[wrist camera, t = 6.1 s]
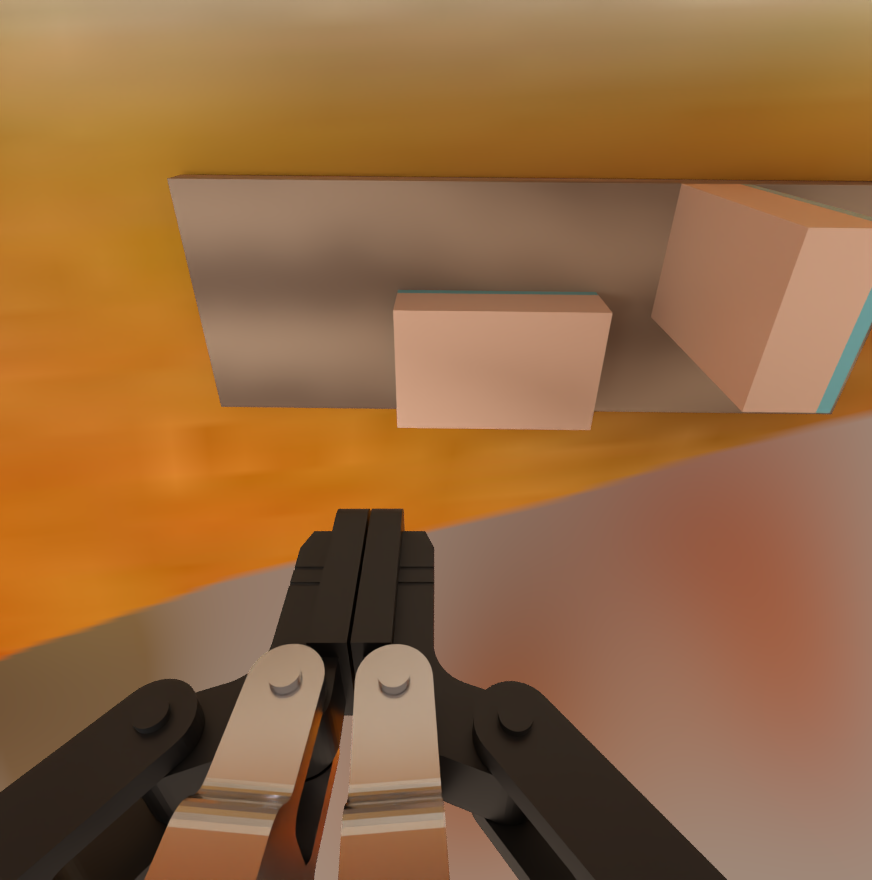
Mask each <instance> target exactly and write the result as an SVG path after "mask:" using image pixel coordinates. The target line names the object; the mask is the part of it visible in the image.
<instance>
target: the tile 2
mask: <svg viewBox="0 0 872 880" xmlns="http://www.w3.org/2000/svg"><path fill="white" fill-rule="evenodd" d="M651 317H652V318H653V320H654V321H655V322H656V323H657V324H658V325H659V326H660V327H661V328H662V329H663V330H664V331H665V332H666V333H667V334H668V335H669V336H670V337H671V338H672V339H673V340H674V341H675V342H676V343H677V345H678V346H679V347H680V348H681V349H682V350H683V351H684V352H685V353H686V354H687V355H688V356H689V357H690V358H691V359H692V360H693V361H694V362H695V363H696V364H697V365H698V366H699V367H700V369H701V370H702V371H703V372H704V373H705V374H706V375H707V376H708V377H709V378H710V379H711V380H712V381H713V382H714V383H715V384H716V385H717V386H718V387H719V388H720V389H721V390H722V391H723V393H724V394H725V395H726V396H727V397H728V398H729V399H730V400H731V401H732V402H733V403H734V404H735V405H736V406H737V407H738V408H739V409H740V410H741V411H742V412H787V413H830V411H831V409H832V407H833V405H834V403H835V400H836V398H837V396H838V394H839V392H840V390H841V387H842V385H843V383H844V381H845V379H846V377H847V374H848V372H849V370H850V368H851V366H852V364H853V362H854V359H855V357H856V355H857V353H858V351H859V349H860V346H861V344H862V342H863V340H864V338H865V336H866V333H867V331H868V329H869V327H870V325H871V323H872V217H870V216H866V215H862V214H859V213H855V212H851V211H848V210H844V209H840V208H836V207H833V206H829V205H825V204H822V203H818V202H814V201H811V200H807V199H803V198H800V197H796V196H792V195H789V194H785V193H781V192H778V191H774V190H770V189H767V188H763V187H759V186H755V185H752V184H681V188H680V193H679V197H678V201H677V206H676V210H675V214H674V219H673V223H672V227H671V232H670V236H669V240H668V245H667V249H666V253H665V258H664V262H663V266H662V271H661V275H660V279H659V284H658V288H657V292H656V297H655V301H654V305H653V310H652V314H651Z"/></svg>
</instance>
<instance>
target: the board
mask: <svg viewBox="0 0 872 880" xmlns="http://www.w3.org/2000/svg"><path fill="white" fill-rule="evenodd" d="M167 180H168V184H169V188H170V192H171V197H172V201H173V205H174V209H175V213H176V218H177V222H178V226H179V230H180V234H181V239H182V243H183V247H184V251H185V256H186V260H187V264H188V268H189V272H190V277H191V281H192V285H193V289H194V293H195V298H196V302H197V306H198V310H199V314H200V319H201V323H202V327H203V331H204V335H205V340H206V344H207V348H208V352H209V357H210V361H211V365H212V369H213V373H214V378H215V382H216V386H217V390H218V394H219V399H220V403H221V407H294V408H374V409H397V403H396V376H395V348H394V321H393V309H394V305H395V300H396V296H397V292H398V290H451V291H541V292H596V293H597V294H598V295H599V296H600V298H601V299H602V300H603V301H604V303H605V304H606V305H607V306H608V308H609V309H610V310H611V311H612V319H611V324H610V329H609V334H608V340H607V345H606V350H605V355H604V361H603V366H602V371H601V376H600V382H599V387H598V392H597V397H596V403H595V408H594V411H615V412H695V413H775V414H832V412H833V410H834V408H835V406H836V404H837V401H838V399H839V397H840V395H841V393H842V391H843V389H844V386H845V384H846V382H847V380H848V378H849V376H850V373H851V371H852V369H853V367H854V365H855V363H856V361H857V358H858V356H859V354H860V352H861V350H862V348H863V346H864V343H865V341H866V339H867V337H868V335H869V333H870V331H871V328H872V323H871V325H870V327H869V329H868V331H867V333H866V336H865V338H864V340H863V342H862V344H861V346H860V349H859V351H858V353H857V355H856V357H855V359H854V362H853V364H852V366H851V368H850V370H849V372H848V374H847V377H846V379H845V381H844V383H843V385H842V387H841V390H840V392H839V394H838V396H837V398H836V400H835V403H834V405H833V407H832V409H831V411H830V413H787V412H742V411H741V410H740V409H739V408H738V407H737V406H736V405H735V404H734V403H733V402H732V401H731V400H730V399H729V398H728V397H727V396H726V395H725V394H724V393H723V391H722V390H721V389H720V388H719V387H718V386H717V385H716V384H715V383H714V382H713V381H712V380H711V379H710V378H709V377H708V376H707V375H706V374H705V373H704V372H703V371H702V370H701V369H700V367H699V366H698V365H697V364H696V363H695V362H694V361H693V360H692V359H691V358H690V357H689V356H688V355H687V354H686V353H685V352H684V351H683V350H682V349H681V348H680V347H679V346H678V345H677V343H676V342H675V341H674V340H673V339H672V338H671V337H670V336H669V335H668V334H667V333H666V332H665V331H664V330H663V329H662V328H661V327H660V326H659V325H658V324H657V323H656V322H655V321H654V320H653V318H652V317H651V314H652V310H653V305H654V301H655V297H656V292H657V288H658V284H659V279H660V275H661V271H662V266H663V262H664V258H665V253H666V249H667V245H668V240H669V236H670V232H671V227H672V223H673V219H674V214H675V210H676V206H677V201H678V197H679V193H680V188H681V184H752V185H755V186H759V187H763V188H767V189H770V190H774V191H778V192H781V193H785V194H789V195H792V196H796V197H800V198H803V199H807V200H811V201H814V202H818V203H822V204H825V205H829V206H833V207H836V208H840V209H844V210H848V211H851V212H855V213H859V214H862V215H866V216H870V217H872V181H781V180H677V179H573V178H469V177H365V176H261V175H178V176H175V177H171V178H167Z"/></svg>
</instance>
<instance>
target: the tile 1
mask: <svg viewBox="0 0 872 880" xmlns="http://www.w3.org/2000/svg"><path fill="white" fill-rule="evenodd" d="M611 319H612V311H611V310H610V309H609V308H608V306H607V305H606V304H605V303H604V301H603V300H602V299H601V298H600V296H599V295H598V294H597V293H596V292H541V291H451V290H398V292H397V296H396V300H395V305H394V309H393V321H394V348H395V376H396V403H397V428H467V429H546V430H590V429H591V424H592V418H593V413H594V408H595V403H596V397H597V392H598V387H599V382H600V376H601V371H602V366H603V361H604V355H605V350H606V345H607V340H608V334H609V329H610V324H611Z"/></svg>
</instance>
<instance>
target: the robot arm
mask: <svg viewBox="0 0 872 880" xmlns="http://www.w3.org/2000/svg"><path fill="white" fill-rule="evenodd" d="M344 715H353V725H352V743H351V759H350V777H349V792H348V800H347V803H346V804H345V806H344V811H343V818H342V828H341V843H340V857H339V874H338V880H450V875H449V864H448V863H449V862H448V849H447V836H446V823H445V811H444V802H443V801H445V802H447V803H450V804H452V805H455V806H457V807H460V808H462V809H465V810H467V811H469V812H472V815H473V817H474V818H475V820H476V822H477V823H478V824H479V826H480V827H481V829H482V830H483V831H484V833H485V834H486V835H487V837H488V838H489V839H490V841H491V842H492V843H493V845H494V846H495V848H496V849H497V850H498V852H499V853H500V854H501V856H502V857H503V859H504V860H505V861H506V863H507V864H508V865H509V867H510V868H511V869H512V871H513V872H514V874H515V875H516V876H517V878H518V879H519V880H727V879H726V878H725V877H724V876H723V875H722V874H721V873H720V872H719V871H718V870H717V869H716V868H715V867H714V866H713V865H712V864H711V863H710V862H709V861H708V860H707V859H706V858H705V857H704V856H703V855H702V854H701V853H700V852H699V851H698V850H697V849H696V848H695V847H694V846H693V845H692V844H691V843H690V842H689V841H688V840H687V839H686V838H685V837H684V836H683V835H682V834H681V833H680V832H679V831H678V830H677V829H676V828H675V827H674V826H673V825H672V824H671V823H670V822H669V821H668V820H667V819H666V818H665V817H664V816H663V815H662V814H661V813H660V812H659V811H658V810H657V809H656V808H655V807H654V806H653V805H652V804H651V803H650V802H649V801H648V800H647V799H646V798H645V797H644V796H643V795H642V794H641V793H640V792H639V791H638V790H637V789H636V788H635V787H634V786H633V785H632V784H631V783H630V782H629V781H628V780H627V779H626V778H625V777H624V776H623V775H622V774H621V773H620V772H619V771H618V770H617V769H616V768H615V767H614V766H613V765H612V764H611V763H610V762H609V761H608V760H607V759H606V758H605V757H604V756H603V755H602V754H601V753H600V752H599V751H598V750H597V749H596V748H595V747H594V746H593V745H592V744H591V743H590V742H589V741H588V740H587V739H586V738H585V737H584V736H583V735H582V734H581V733H580V732H579V731H578V730H577V729H576V728H575V727H574V725H573V724H572V723H571V722H570V721H569V720H568V719H566V717H565V716H564V715H562V714H561V713H560V711H558V709H557V708H556V707H555V706H554V705H553V704H552V703H550V701H549V700H548V699H547V698H545V696H544V695H542V694H541V693H540V692H539V691H538V690H536V689H535V688H533V687H531V686H529V685H527V684H524V683H520V682H515V681H505V682H501V683H497V684H495V685H492V686H491V687H489V688H488V689H486V690H484V689H481V688H478V687H476V686H472V685H469V684H467V683H464V682H462V681H459V680H457V679H456V678H454V677H452V676H451V675H450V674H448V673H447V672H446V671H445V670H444V669H443V668H442V666H441V665H440V664H439V662H438V660H437V658H436V655H435V651H434V547H433V545H432V543H431V541H430V539H429V538H428V536H427V534H426V532H425V531H404V511H403V509H372V510H370V509H338V511H337V513H336V517H335V522H334V526H333V530H332V531H314V533H313V534H312V535H311V536H310V537H309V538H308V540H307V541H306V542H305V543H304V544H303V545H302V547H301V548H300V551H299V555H298V558H297V561H296V565H295V570H294V572H293V575H292V578H291V581H290V586H289V588H288V592H287V595H286V599H285V602H284V605H283V608H282V612H281V615H280V618H279V622H278V625H277V629H276V632H275V635H274V639H273V642H272V645H271V647H270V650H269V651H268V652H267V653H265V654H264V655H263V656H261V657H260V658H259V659H258V660H257V661H256V662H255V664H254V665H253V666H252V667H251V669H250V671H249V673H248V674H246V675H245V676H243V677H241V678H239V679H237V680H235V681H232V682H229V683H226V684H223V685H219V686H216V687H213V688H210V689H206V690H203V691H199V692H197V693H195V692H194V690H193V689H192V687H191V686H190V685H188V684H187V683H185V682H183V681H181V680H177V679H164V680H159V681H154V682H152V683H149V684H147V685H145V686H143V687H141V688H139V689H138V690H136V691H135V692H133V693H132V694H131V695H129V696H128V697H127V698H125V699H124V700H123V701H121V702H120V703H119V704H117V705H116V706H115V707H113V708H112V709H111V710H109V711H108V712H107V713H105V714H104V715H103V716H101V717H100V718H99V719H97V720H96V721H95V722H93V723H92V724H91V725H89V726H88V727H87V728H85V729H84V730H83V731H81V732H80V733H79V734H77V735H76V736H75V737H73V738H72V739H71V740H69V741H68V742H67V743H65V744H64V745H63V746H61V747H60V748H59V749H57V750H56V751H55V752H53V753H52V754H51V755H49V756H48V757H47V758H45V759H44V760H43V761H41V762H40V763H39V764H37V765H36V766H35V767H33V768H32V769H31V770H29V771H28V772H27V773H25V774H24V775H23V776H21V777H20V778H19V779H17V780H16V781H15V782H13V783H12V784H11V785H9V786H8V787H7V788H5V789H4V790H3V791H2V792H0V880H314V876H315V869H316V863H317V858H318V853H319V848H320V844H321V840H322V835H323V830H324V826H325V821H326V816H327V812H328V807H329V803H330V798H331V794H332V788H333V784H334V780H335V775H336V771H337V766H338V761H339V755H340V746H339V745H340V739H341V732H342V726H343V719H344Z"/></svg>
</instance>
